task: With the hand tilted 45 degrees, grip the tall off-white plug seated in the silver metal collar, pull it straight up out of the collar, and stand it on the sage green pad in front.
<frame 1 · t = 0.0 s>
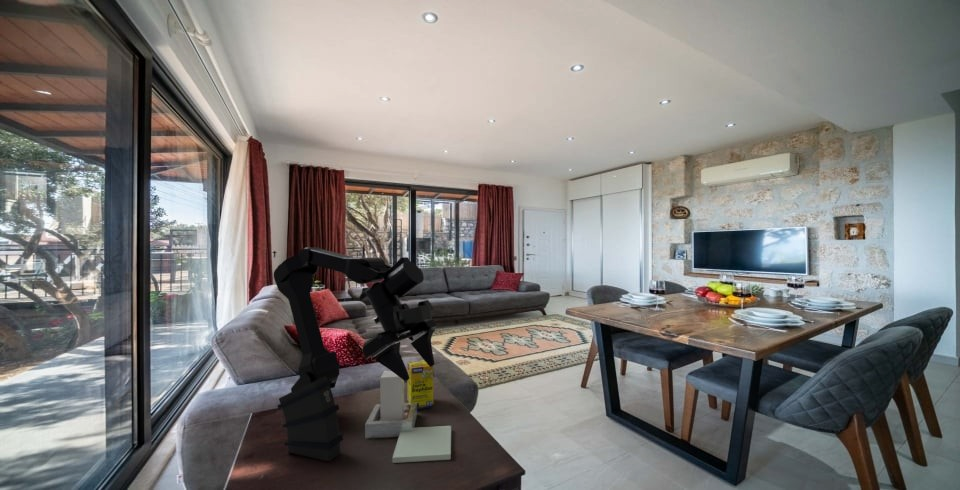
hand: (420, 372, 71), 15 cm above the table, tool tilted 35°, fingers open, 9 cm apart
supplement box: (420, 405, 89), on the table
holder collar: (392, 425, 79), on the table
black ridged block stack: (309, 453, 68), on the table
plug: (392, 399, 79), in the holder collar
sage pad: (424, 445, 70), on the table
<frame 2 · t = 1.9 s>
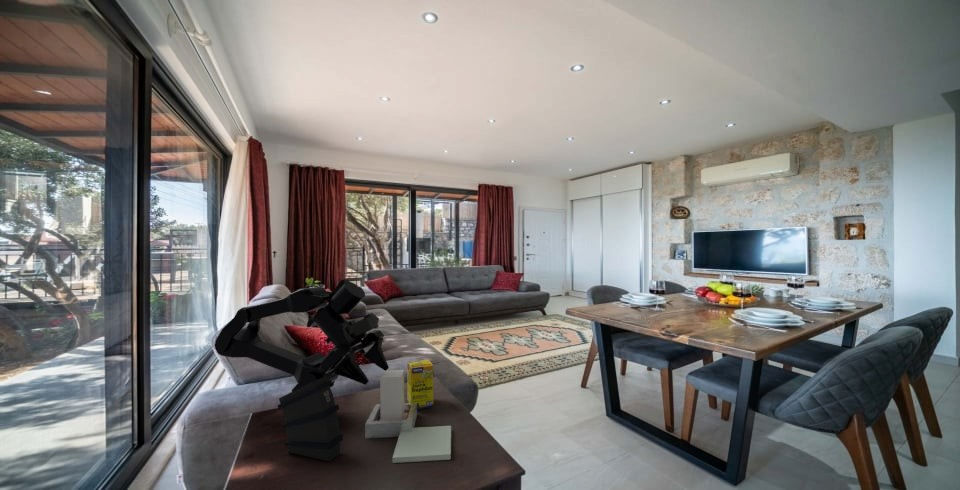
hand: (377, 375, 80), 11 cm above the table, tool tilted 45°, fingers open, 9 cm apart
nothing on the table moved.
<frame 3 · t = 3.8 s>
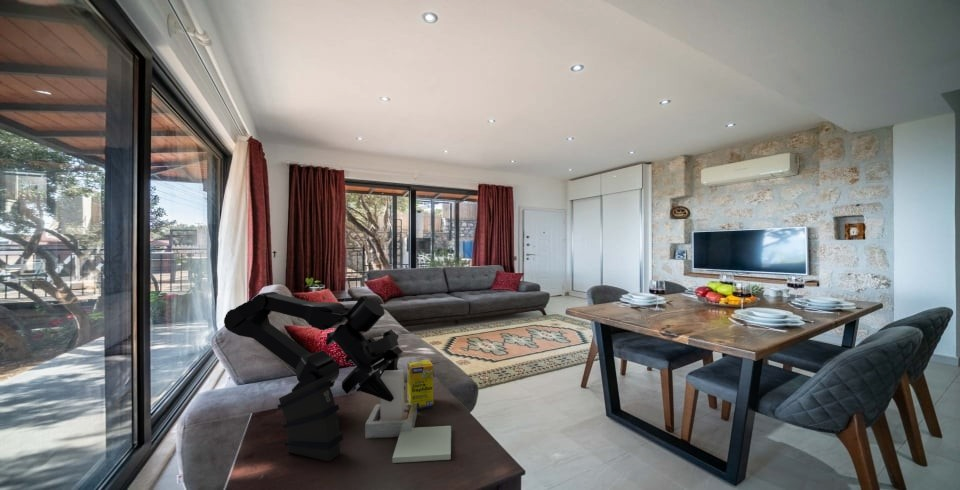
hand: (398, 394, 78), 7 cm above the table, tool tilted 45°, fingers closed on plug, 6 cm apart
plug: (392, 399, 79), in the holder collar, touching gripper
everything else where it was.
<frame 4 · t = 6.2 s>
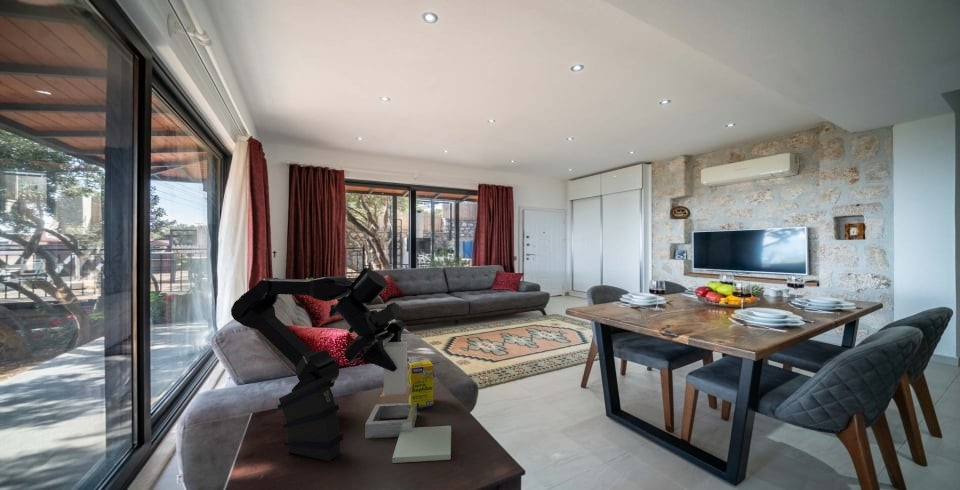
hand: (401, 366, 78), 14 cm above the table, tool tilted 45°, fingers closed on plug, 6 cm apart
plug: (396, 370, 78), point 13 cm above the table, touching gripper
everything else where it was.
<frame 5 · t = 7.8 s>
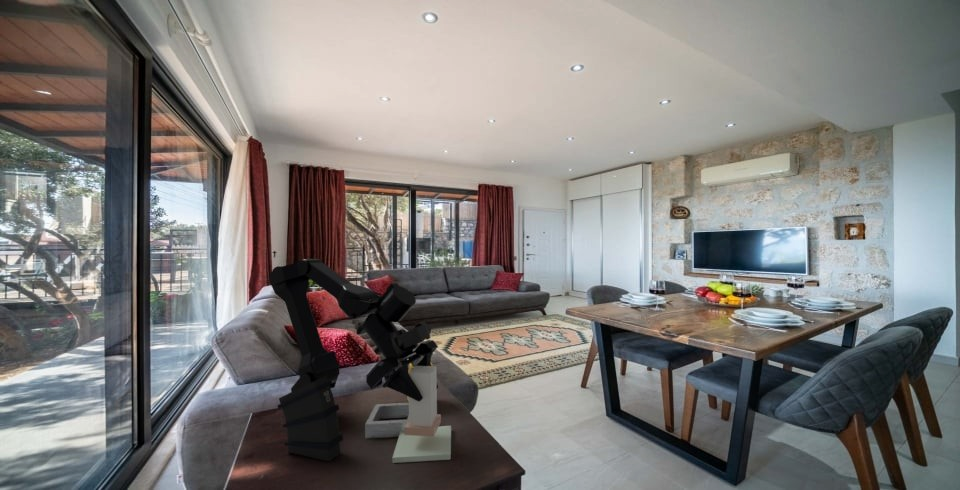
hand: (429, 394, 70), 11 cm above the table, tool tilted 45°, fingers closed on plug, 6 cm apart
plug: (423, 398, 70), point 10 cm above the table, touching gripper
everything else where it was.
when the fingers open (10 cm above the table, at t = 8.9 s): plug drops 1 cm, resting on sage pad.
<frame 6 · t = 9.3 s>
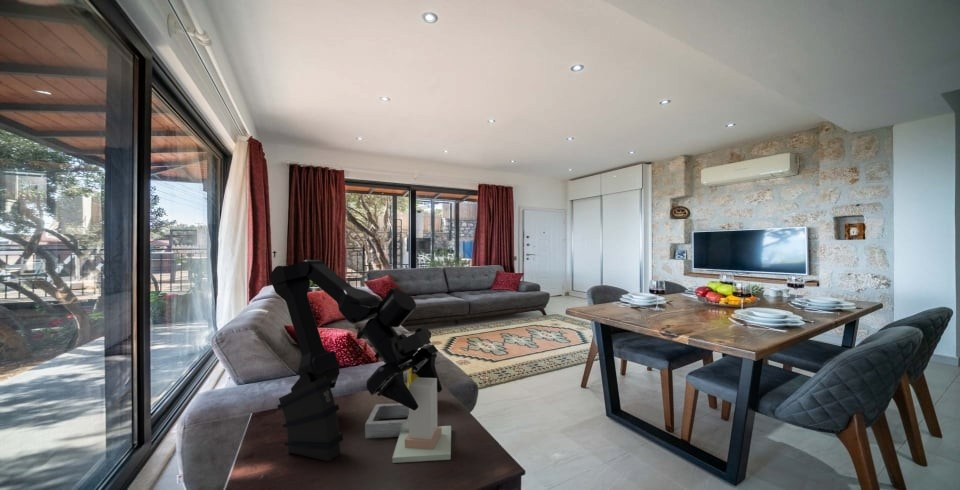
hand: (429, 399, 70), 10 cm above the table, tool tilted 45°, fingers open, 9 cm apart
plug: (423, 410, 70), on the sage pad, point 7 cm above the table
everything else where it was.
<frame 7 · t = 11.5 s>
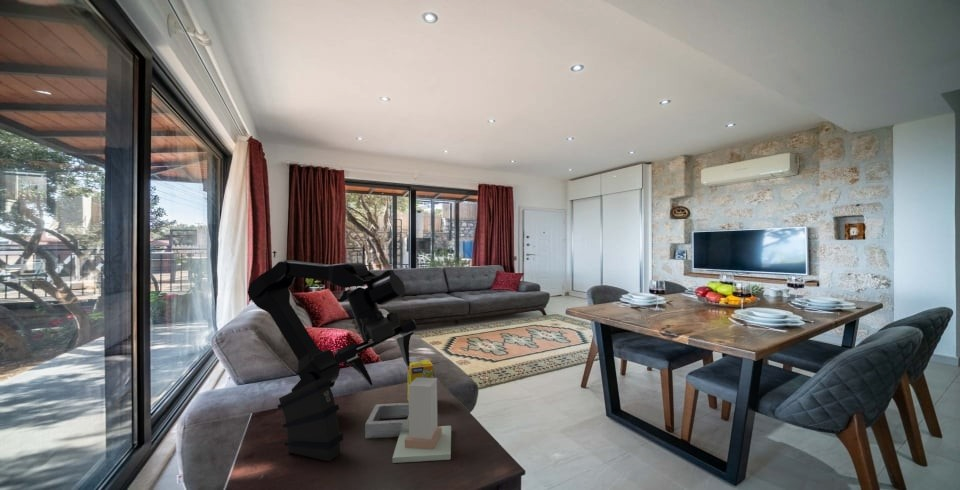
hand: (390, 375, 78), 12 cm above the table, tool tilted 25°, fingers open, 9 cm apart
nothing on the table moved.
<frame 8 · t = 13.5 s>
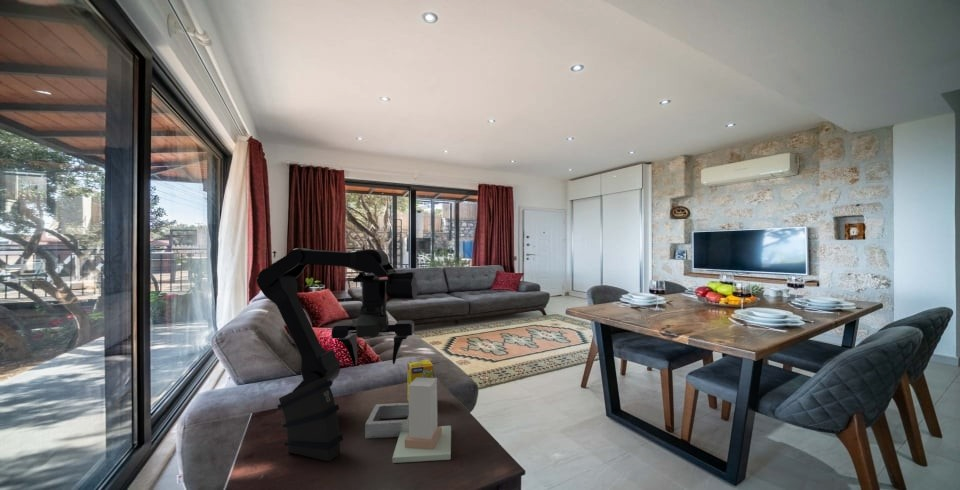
hand: (374, 364, 83), 13 cm above the table, tool pointing down, fingers open, 9 cm apart
nothing on the table moved.
at the end: plug inside the target area on the sage pad (0.1 cm from its centre), point 7.0 cm above the sage pad's base; plug tilted 0°; the gripper is holding nothing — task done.
